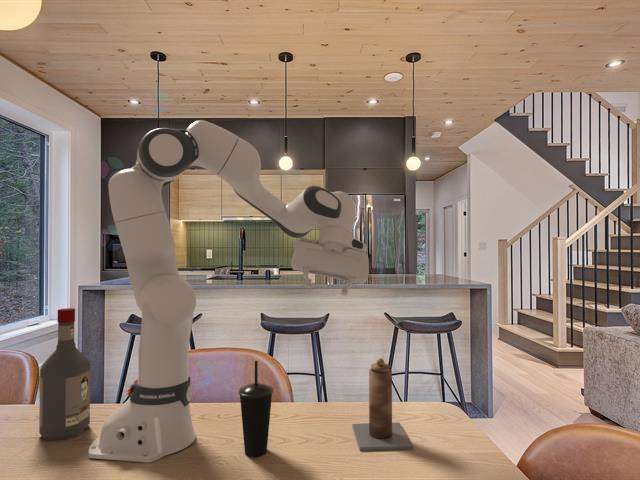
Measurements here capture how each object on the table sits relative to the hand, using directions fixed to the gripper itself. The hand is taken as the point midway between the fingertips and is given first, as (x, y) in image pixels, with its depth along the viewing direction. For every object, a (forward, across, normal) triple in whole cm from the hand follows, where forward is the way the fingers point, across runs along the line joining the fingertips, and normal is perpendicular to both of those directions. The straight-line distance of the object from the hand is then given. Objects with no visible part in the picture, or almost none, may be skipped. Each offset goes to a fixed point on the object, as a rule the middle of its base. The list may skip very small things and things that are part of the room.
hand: (325, 290), depth 102 cm
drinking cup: (+38, -8, +10) cm, 40 cm away
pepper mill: (+28, +20, +12) cm, 36 cm away
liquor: (+41, -56, +24) cm, 73 cm away
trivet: (+29, +20, +12) cm, 37 cm away
